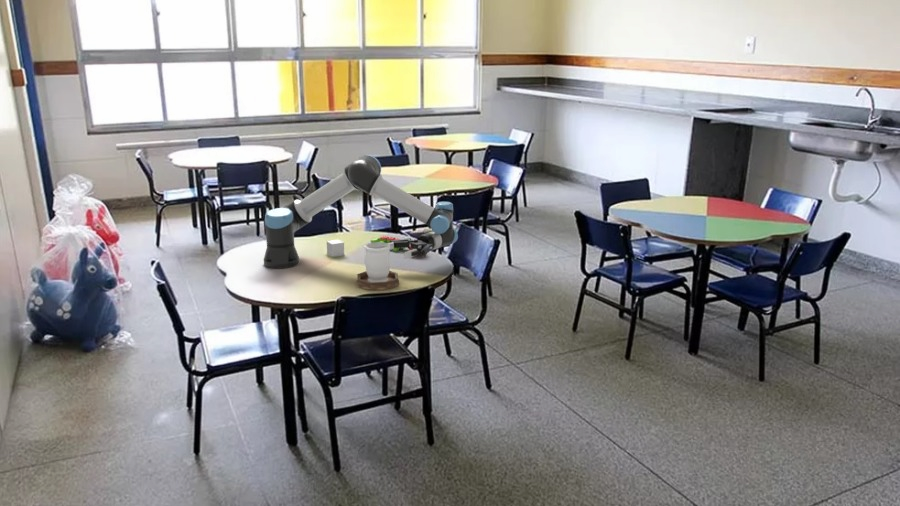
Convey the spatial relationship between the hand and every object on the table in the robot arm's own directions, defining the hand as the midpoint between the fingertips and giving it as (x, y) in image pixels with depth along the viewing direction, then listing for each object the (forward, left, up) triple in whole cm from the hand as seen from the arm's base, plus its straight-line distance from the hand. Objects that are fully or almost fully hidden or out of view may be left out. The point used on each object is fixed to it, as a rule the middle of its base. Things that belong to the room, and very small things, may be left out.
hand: (393, 252), depth 281 cm
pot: (+12, +32, -11) cm, 36 cm away
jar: (-6, -5, -11) cm, 14 cm away
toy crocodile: (+1, +43, -12) cm, 45 cm away
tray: (-6, -5, -11) cm, 14 cm away
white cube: (-24, +36, -11) cm, 45 cm away
